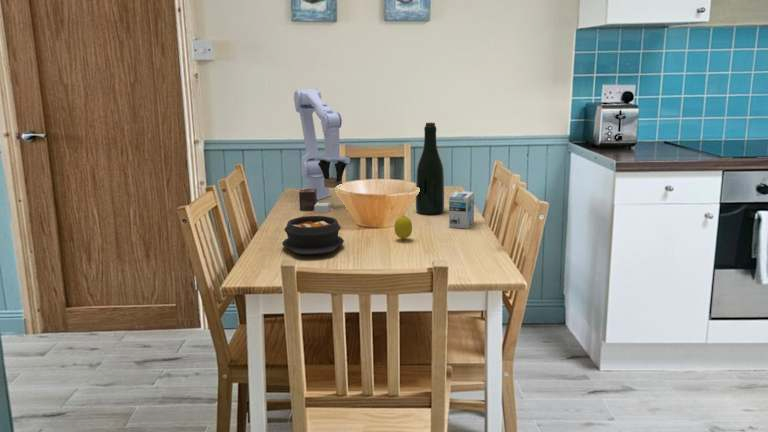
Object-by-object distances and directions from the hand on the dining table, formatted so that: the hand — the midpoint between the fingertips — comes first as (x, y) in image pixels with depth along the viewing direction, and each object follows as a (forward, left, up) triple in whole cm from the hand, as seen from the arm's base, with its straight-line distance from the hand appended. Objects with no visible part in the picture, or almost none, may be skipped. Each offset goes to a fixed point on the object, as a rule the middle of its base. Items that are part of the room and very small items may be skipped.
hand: (333, 180), depth 250 cm
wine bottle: (-8, +37, -10) cm, 39 cm away
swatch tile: (-1, -6, -10) cm, 12 cm away
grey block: (+8, 0, -11) cm, 13 cm away
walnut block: (0, 0, -2) cm, 2 cm away
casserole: (+50, +24, -11) cm, 56 cm away
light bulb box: (+4, +54, -11) cm, 56 cm away
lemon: (+30, +45, -10) cm, 55 cm away
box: (+7, -7, -11) cm, 15 cm away
